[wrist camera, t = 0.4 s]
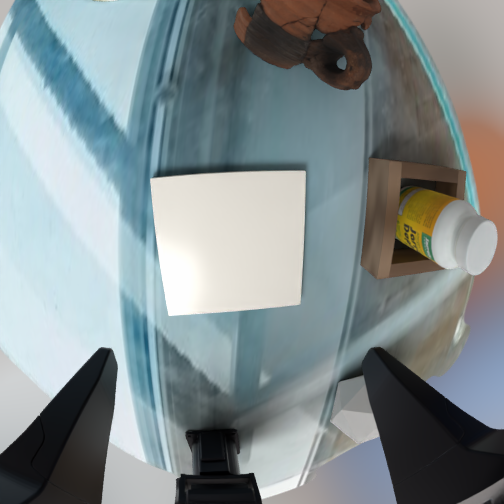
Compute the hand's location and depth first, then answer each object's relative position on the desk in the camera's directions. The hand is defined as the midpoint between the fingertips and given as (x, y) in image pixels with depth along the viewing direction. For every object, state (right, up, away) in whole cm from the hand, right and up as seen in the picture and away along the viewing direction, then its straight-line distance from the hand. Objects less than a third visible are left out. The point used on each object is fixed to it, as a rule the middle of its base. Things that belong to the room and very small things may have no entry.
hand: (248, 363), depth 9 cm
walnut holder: (+14, +7, +14) cm, 22 cm away
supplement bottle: (+14, +7, +15) cm, 22 cm away
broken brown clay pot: (+4, +21, +8) cm, 22 cm away
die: (+13, -12, +22) cm, 28 cm away
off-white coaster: (-1, +4, +13) cm, 14 cm away
